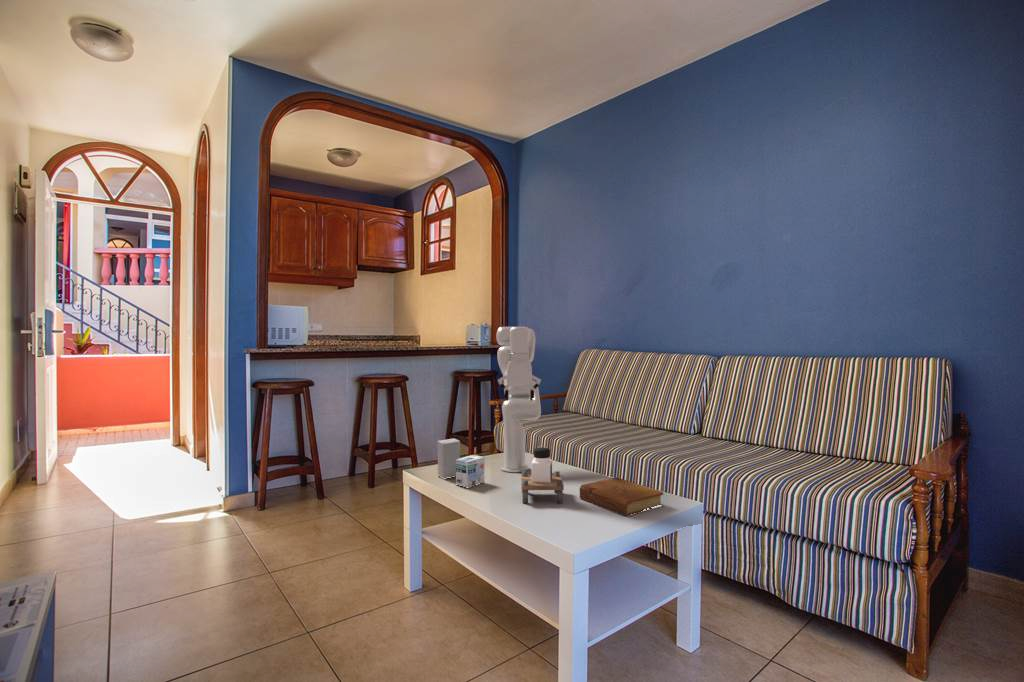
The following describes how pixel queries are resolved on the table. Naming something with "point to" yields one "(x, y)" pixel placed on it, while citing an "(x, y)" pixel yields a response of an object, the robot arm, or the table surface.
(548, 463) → the medicine bottle
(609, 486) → the diary
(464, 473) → the light bulb box
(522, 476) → the shelf stand
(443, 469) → the skincare box
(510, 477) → the table surface
